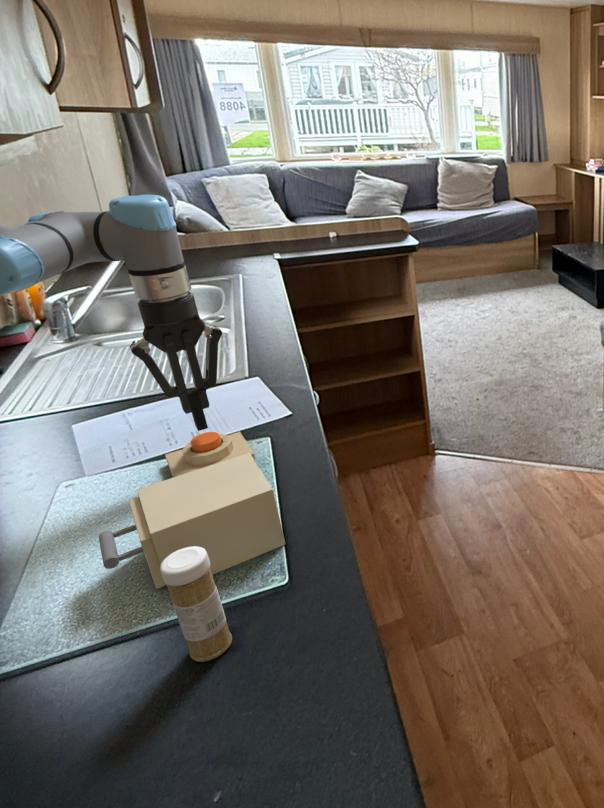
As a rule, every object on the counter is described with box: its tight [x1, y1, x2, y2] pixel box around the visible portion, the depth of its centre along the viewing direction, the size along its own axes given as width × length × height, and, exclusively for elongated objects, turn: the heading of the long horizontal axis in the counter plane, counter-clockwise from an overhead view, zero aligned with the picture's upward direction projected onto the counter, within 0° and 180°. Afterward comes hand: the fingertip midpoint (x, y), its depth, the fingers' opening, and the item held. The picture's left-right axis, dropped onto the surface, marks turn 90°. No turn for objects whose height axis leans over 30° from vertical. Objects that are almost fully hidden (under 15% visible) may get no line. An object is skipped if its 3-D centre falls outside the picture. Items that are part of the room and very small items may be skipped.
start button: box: [190, 431, 222, 453], centre depth 112 cm, size 4×4×2 cm
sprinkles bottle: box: [160, 546, 233, 663], centre depth 75 cm, size 5×5×13 cm
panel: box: [164, 431, 258, 478], centre depth 113 cm, size 12×10×4 cm
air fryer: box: [136, 453, 286, 591], centre depth 93 cm, size 15×13×10 cm
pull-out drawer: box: [98, 496, 167, 590], centre depth 90 cm, size 18×11×8 cm, turn 130°
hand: (201, 426), depth 111 cm, fingers closed
